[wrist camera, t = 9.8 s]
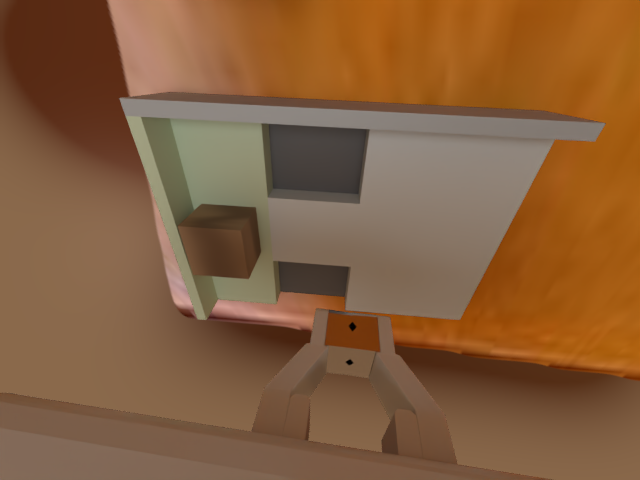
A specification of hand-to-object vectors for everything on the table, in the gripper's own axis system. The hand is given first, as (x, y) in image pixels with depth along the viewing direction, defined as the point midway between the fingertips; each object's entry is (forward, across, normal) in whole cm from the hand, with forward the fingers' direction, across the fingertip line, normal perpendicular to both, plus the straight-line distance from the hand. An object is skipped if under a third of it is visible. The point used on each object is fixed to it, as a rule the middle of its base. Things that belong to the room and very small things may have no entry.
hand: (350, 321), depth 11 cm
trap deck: (+15, +1, +4) cm, 16 cm away
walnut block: (+12, +11, +4) cm, 17 cm away
